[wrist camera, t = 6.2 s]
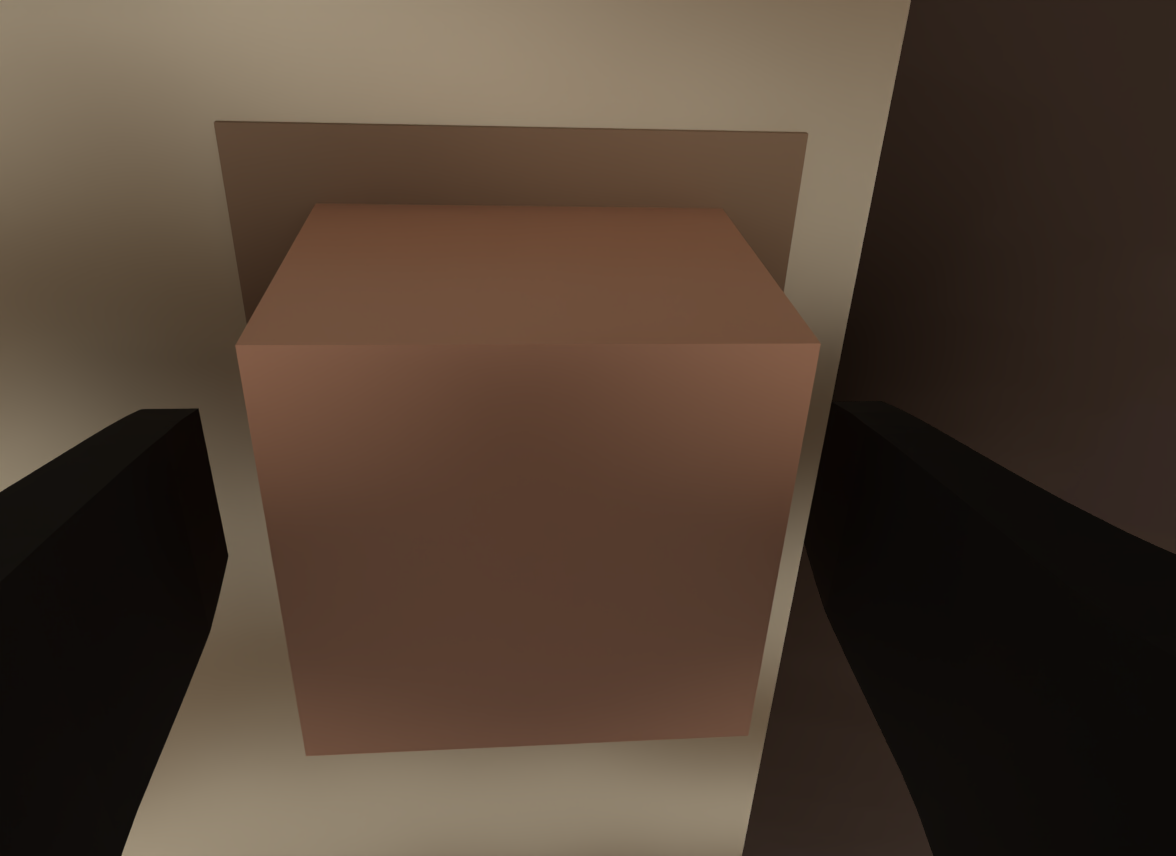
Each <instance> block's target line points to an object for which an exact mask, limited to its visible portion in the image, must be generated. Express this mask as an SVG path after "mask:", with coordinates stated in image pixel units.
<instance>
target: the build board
mask: <svg viewBox="0 0 1176 856" xmlns="http://www.w3.org/2000/svg"><path fill="white" fill-rule="evenodd" d="M910 2H911V0H0V492H1V491H3V490H4V489H6V488H7V487H9V486H11V485H12V484H14V483H16V482H17V481H19V480H20V479H22V478H24V477H25V476H27V475H29V474H30V473H32V472H34V471H35V470H37V469H38V468H40V467H42V466H43V465H45V464H47V463H48V462H50V461H52V460H53V459H55V458H56V457H58V456H60V455H61V454H63V453H65V452H66V451H68V450H69V449H71V448H73V447H74V446H76V445H77V444H79V443H81V442H82V441H84V440H86V439H87V438H89V437H91V436H92V435H94V434H96V433H97V432H99V431H101V430H102V429H104V428H106V427H107V426H109V425H111V424H113V423H114V422H116V421H118V420H120V419H122V418H124V417H125V416H127V415H130V414H132V413H134V412H136V411H138V410H140V409H190V408H199V413H200V418H201V423H202V428H203V433H204V438H205V443H206V448H207V452H208V457H209V462H210V467H211V472H212V477H213V482H214V487H215V492H216V497H217V502H218V506H219V511H220V516H221V521H222V526H223V531H224V536H225V541H226V546H227V551H228V556H229V557H228V561H227V565H226V570H225V574H224V578H223V583H222V587H221V592H220V596H219V600H218V604H217V608H216V612H215V615H214V619H213V623H212V627H211V631H210V634H209V636H208V639H207V642H206V644H205V647H204V649H203V652H202V654H201V657H200V659H199V662H198V664H197V667H196V669H195V672H194V674H193V677H192V679H191V682H190V684H189V687H188V689H187V692H186V694H185V697H184V699H183V702H182V704H181V706H180V709H179V711H178V714H177V716H176V719H175V721H174V723H173V726H172V728H171V731H170V733H169V736H168V738H167V740H166V743H165V745H164V748H163V750H162V753H161V755H160V757H159V760H158V762H157V765H156V767H155V770H154V772H153V774H152V777H151V779H150V782H149V784H148V787H147V789H146V792H145V794H144V796H143V799H142V801H141V804H140V806H139V809H138V811H137V814H136V816H135V819H134V822H133V825H132V828H131V830H130V833H129V836H128V839H127V841H126V844H125V847H124V850H123V853H122V856H742V852H743V847H744V842H745V837H746V832H747V827H748V822H749V816H750V811H751V806H752V801H753V796H754V791H755V786H756V781H757V776H758V771H759V766H760V761H761V756H762V751H763V746H764V741H765V736H766V730H767V725H768V720H769V715H770V710H771V705H772V700H773V695H774V690H775V685H776V680H777V675H778V670H779V665H780V660H781V655H782V650H783V644H784V639H785V634H786V629H787V624H788V619H789V614H790V609H791V604H792V599H793V594H794V589H795V584H796V579H797V574H798V569H799V564H800V558H801V553H802V548H803V543H804V538H805V533H806V528H807V523H808V518H809V513H810V508H811V503H812V498H813V493H814V488H815V483H816V478H817V472H818V467H819V462H820V457H821V452H822V447H823V442H824V437H825V432H826V427H827V422H828V417H829V412H830V407H831V402H832V397H833V392H834V386H835V381H836V376H837V371H838V366H839V361H840V356H841V351H842V346H843V341H844V336H845V331H846V326H847V321H848V316H849V311H850V306H851V300H852V295H853V290H854V285H855V280H856V275H857V270H858V265H859V260H860V255H861V250H862V245H863V240H864V235H865V230H866V225H867V220H868V214H869V209H870V204H871V199H872V194H873V189H874V184H875V179H876V174H877V169H878V164H879V159H880V154H881V149H882V144H883V139H884V134H885V128H886V123H887V118H888V113H889V108H890V103H891V98H892V93H893V88H894V83H895V78H896V73H897V68H898V63H899V58H900V53H901V48H902V42H903V37H904V32H905V27H906V22H907V17H908V12H909V7H910ZM316 203H321V204H405V205H488V206H571V207H655V208H722V209H723V210H724V211H725V213H726V214H727V215H728V217H729V218H730V220H731V221H732V222H733V224H734V225H735V226H736V228H737V229H738V231H739V232H740V233H741V235H742V236H743V237H744V239H745V240H746V242H747V243H748V244H749V246H750V247H751V248H752V250H753V251H754V252H755V254H756V255H757V257H758V258H759V259H760V261H761V262H762V263H763V265H764V266H765V268H766V269H767V270H768V272H769V273H770V274H771V276H772V277H773V279H774V280H775V281H776V283H777V284H778V285H779V287H780V288H781V290H782V291H783V292H784V294H785V295H786V296H787V298H788V299H789V300H790V302H791V303H792V305H793V306H794V307H795V309H796V310H797V311H798V313H799V314H800V316H801V317H802V318H803V320H804V321H805V322H806V324H807V325H808V327H809V328H810V329H811V331H812V332H813V333H814V335H815V336H816V337H817V339H818V340H819V342H820V343H821V346H820V351H819V357H818V362H817V367H816V373H815V378H814V384H813V389H812V394H811V400H810V405H809V410H808V416H807V421H806V427H805V432H804V437H803V443H802V448H801V454H800V459H799V464H798V470H797V475H796V481H795V486H794V491H793V497H792V502H791V508H790V513H789V518H788V524H787V529H786V535H785V540H784V545H783V551H782V556H781V562H780V567H779V572H778V578H777V583H776V589H775V594H774V599H773V605H772V610H771V615H770V621H769V626H768V632H767V637H766V642H765V648H764V653H763V659H762V664H761V669H760V675H759V680H758V686H757V691H756V696H755V702H754V707H753V713H752V718H751V723H750V729H749V734H748V736H732V737H711V738H689V739H667V740H646V741H624V742H603V743H581V744H559V745H538V746H516V747H494V748H473V749H451V750H430V751H408V752H386V753H365V754H343V755H321V756H306V754H305V748H304V742H303V736H302V730H301V725H300V719H299V713H298V707H297V701H296V696H295V690H294V684H293V678H292V672H291V666H290V661H289V655H288V649H287V643H286V637H285V632H284V626H283V620H282V614H281V608H280V603H279V597H278V591H277V585H276V579H275V574H274V568H273V562H272V556H271V550H270V544H269V539H268V533H267V527H266V521H265V515H264V510H263V504H262V498H261V492H260V486H259V481H258V475H257V469H256V463H255V457H254V452H253V446H252V440H251V434H250V428H249V422H248V417H247V411H246V405H245V399H244V393H243V388H242V382H241V376H240V370H239V364H238V359H237V353H236V347H235V345H236V343H237V341H238V339H239V338H240V336H241V334H242V332H243V331H244V329H245V327H246V325H247V324H248V322H249V320H250V318H251V317H252V315H253V313H254V311H255V309H256V308H257V306H258V304H259V302H260V301H261V299H262V297H263V295H264V294H265V292H266V290H267V288H268V287H269V285H270V283H271V281H272V279H273V278H274V276H275V274H276V272H277V271H278V269H279V267H280V265H281V264H282V262H283V260H284V258H285V257H286V255H287V253H288V251H289V249H290V248H291V246H292V244H293V242H294V241H295V239H296V237H297V235H298V234H299V232H300V230H301V228H302V227H303V225H304V223H305V221H306V220H307V218H308V216H309V214H310V212H311V211H312V209H313V207H314V205H315V204H316Z"/></svg>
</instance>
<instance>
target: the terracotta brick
mask: <svg viewBox="0 0 1176 856" xmlns="http://www.w3.org/2000/svg"><path fill="white" fill-rule="evenodd" d="M820 346H821V343H820V342H819V340H818V339H817V337H816V336H815V335H814V333H813V332H812V331H811V329H810V328H809V327H808V325H807V324H806V322H805V321H804V320H803V318H802V317H801V316H800V314H799V313H798V311H797V310H796V309H795V307H794V306H793V305H792V303H791V302H790V300H789V299H788V298H787V296H786V295H785V294H784V292H783V291H782V290H781V288H780V287H779V285H778V284H777V283H776V281H775V280H774V279H773V277H772V276H771V274H770V273H769V272H768V270H767V269H766V268H765V266H764V265H763V263H762V262H761V261H760V259H759V258H758V257H757V255H756V254H755V252H754V251H753V250H752V248H751V247H750V246H749V244H748V243H747V242H746V240H745V239H744V237H743V236H742V235H741V233H740V232H739V231H738V229H737V228H736V226H735V225H734V224H733V222H732V221H731V220H730V218H729V217H728V215H727V214H726V213H725V211H724V210H723V209H722V208H655V207H571V206H488V205H405V204H321V203H316V204H315V205H314V207H313V209H312V211H311V212H310V214H309V216H308V218H307V220H306V221H305V223H304V225H303V227H302V228H301V230H300V232H299V234H298V235H297V237H296V239H295V241H294V242H293V244H292V246H291V248H290V249H289V251H288V253H287V255H286V257H285V258H284V260H283V262H282V264H281V265H280V267H279V269H278V271H277V272H276V274H275V276H274V278H273V279H272V281H271V283H270V285H269V287H268V288H267V290H266V292H265V294H264V295H263V297H262V299H261V301H260V302H259V304H258V306H257V308H256V309H255V311H254V313H253V315H252V317H251V318H250V320H249V322H248V324H247V325H246V327H245V329H244V331H243V332H242V334H241V336H240V338H239V339H238V341H237V343H236V345H235V347H236V353H237V359H238V364H239V370H240V376H241V382H242V388H243V393H244V399H245V405H246V411H247V417H248V422H249V428H250V434H251V440H252V446H253V452H254V457H255V463H256V469H257V475H258V481H259V486H260V492H261V498H262V504H263V510H264V515H265V521H266V527H267V533H268V539H269V544H270V550H271V556H272V562H273V568H274V574H275V579H276V585H277V591H278V597H279V603H280V608H281V614H282V620H283V626H284V632H285V637H286V643H287V649H288V655H289V661H290V666H291V672H292V678H293V684H294V690H295V696H296V701H297V707H298V713H299V719H300V725H301V730H302V736H303V742H304V748H305V754H306V756H321V755H343V754H365V753H386V752H408V751H430V750H451V749H473V748H494V747H516V746H538V745H559V744H581V743H603V742H624V741H646V740H667V739H689V738H711V737H732V736H748V734H749V729H750V723H751V718H752V713H753V707H754V702H755V696H756V691H757V686H758V680H759V675H760V669H761V664H762V659H763V653H764V648H765V642H766V637H767V632H768V626H769V621H770V615H771V610H772V605H773V599H774V594H775V589H776V583H777V578H778V572H779V567H780V562H781V556H782V551H783V545H784V540H785V535H786V529H787V524H788V518H789V513H790V508H791V502H792V497H793V491H794V486H795V481H796V475H797V470H798V464H799V459H800V454H801V448H802V443H803V437H804V432H805V427H806V421H807V416H808V410H809V405H810V400H811V394H812V389H813V384H814V378H815V373H816V367H817V362H818V357H819V351H820Z"/></svg>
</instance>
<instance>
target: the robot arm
mask: <svg viewBox="0 0 1176 856" xmlns="http://www.w3.org/2000/svg"><path fill="white" fill-rule="evenodd" d="M804 543H805V547H806V550H807V554H808V557H809V561H810V564H811V568H812V571H813V575H814V578H815V581H816V585H817V588H818V591H819V594H820V597H821V600H822V603H823V606H824V609H825V612H826V614H827V617H828V619H829V621H830V623H831V626H832V628H833V630H834V632H835V634H836V636H837V639H838V641H839V643H840V645H841V647H842V649H843V651H844V654H845V656H846V658H847V660H848V662H849V664H850V666H851V669H852V671H853V673H854V675H855V677H856V679H857V681H858V683H859V685H860V687H861V689H862V691H863V694H864V696H865V698H866V700H867V702H868V704H869V706H870V708H871V710H872V712H873V714H874V716H875V719H876V721H877V723H878V725H879V727H880V729H881V731H882V733H883V735H884V737H885V739H886V742H887V744H888V746H889V748H890V750H891V752H892V754H893V756H894V758H895V760H896V762H897V765H898V767H899V769H900V771H901V773H902V775H903V778H904V780H905V782H906V785H907V787H908V789H909V792H910V794H911V797H912V799H913V801H914V804H915V806H916V808H917V811H918V813H919V816H920V819H921V822H922V825H923V828H924V830H925V833H926V836H927V839H928V842H929V845H930V847H931V850H932V853H933V856H1176V554H1174V553H1171V552H1169V551H1167V550H1164V549H1162V548H1160V547H1157V546H1155V545H1153V544H1151V543H1149V542H1147V541H1144V540H1142V539H1140V538H1138V537H1136V536H1134V535H1132V534H1129V533H1127V532H1125V531H1123V530H1121V529H1119V528H1117V527H1115V526H1113V525H1111V524H1109V523H1107V522H1105V521H1103V520H1101V519H1099V518H1097V517H1095V516H1093V515H1091V514H1090V513H1088V512H1086V511H1084V510H1082V509H1080V508H1078V507H1076V506H1074V505H1072V504H1070V503H1068V502H1066V501H1064V500H1062V499H1060V498H1058V497H1057V496H1055V495H1053V494H1051V493H1049V492H1047V491H1045V490H1044V489H1042V488H1040V487H1038V486H1036V485H1034V484H1033V483H1031V482H1029V481H1027V480H1025V479H1024V478H1022V477H1020V476H1018V475H1016V474H1015V473H1013V472H1011V471H1009V470H1008V469H1006V468H1004V467H1002V466H1001V465H999V464H997V463H995V462H994V461H992V460H990V459H988V458H987V457H985V456H983V455H981V454H980V453H978V452H976V451H974V450H973V449H971V448H969V447H967V446H966V445H964V444H962V443H960V442H959V441H957V440H955V439H954V438H952V437H950V436H948V435H947V434H945V433H943V432H941V431H940V430H938V429H936V428H934V427H932V426H931V425H929V424H927V423H925V422H923V421H922V420H920V419H918V418H916V417H914V416H912V415H910V414H908V413H906V412H905V411H902V410H900V409H898V408H896V407H894V406H892V405H889V404H887V403H885V402H882V401H861V402H831V407H830V412H829V417H828V422H827V427H826V432H825V437H824V442H823V447H822V452H821V457H820V462H819V468H818V473H817V478H816V483H815V488H814V493H813V498H812V503H811V508H810V513H809V518H808V523H807V528H806V533H805V538H804ZM228 557H229V556H228V551H227V546H226V541H225V536H224V531H223V526H222V521H221V516H220V511H219V506H218V502H217V497H216V492H215V487H214V482H213V477H212V472H211V467H210V462H209V457H208V452H207V448H206V443H205V438H204V433H203V428H202V423H201V418H200V413H199V408H190V409H140V410H138V411H136V412H134V413H132V414H130V415H127V416H125V417H124V418H122V419H120V420H118V421H116V422H114V423H113V424H111V425H109V426H107V427H106V428H104V429H102V430H101V431H99V432H97V433H96V434H94V435H92V436H91V437H89V438H87V439H86V440H84V441H82V442H81V443H79V444H77V445H76V446H74V447H73V448H71V449H69V450H68V451H66V452H65V453H63V454H61V455H60V456H58V457H56V458H55V459H53V460H52V461H50V462H48V463H47V464H45V465H43V466H42V467H40V468H38V469H37V470H35V471H34V472H32V473H30V474H29V475H27V476H25V477H24V478H22V479H20V480H19V481H17V482H16V483H14V484H12V485H11V486H9V487H7V488H6V489H4V490H3V491H1V492H0V856H122V853H123V850H124V847H125V844H126V841H127V839H128V836H129V833H130V830H131V828H132V825H133V822H134V819H135V816H136V814H137V811H138V809H139V806H140V804H141V801H142V799H143V796H144V794H145V792H146V789H147V787H148V784H149V782H150V779H151V777H152V774H153V772H154V770H155V767H156V765H157V762H158V760H159V757H160V755H161V753H162V750H163V748H164V745H165V743H166V740H167V738H168V736H169V733H170V731H171V728H172V726H173V723H174V721H175V719H176V716H177V714H178V711H179V709H180V706H181V704H182V702H183V699H184V697H185V694H186V692H187V689H188V687H189V684H190V682H191V679H192V677H193V674H194V672H195V669H196V667H197V664H198V662H199V659H200V657H201V654H202V652H203V649H204V647H205V644H206V642H207V639H208V636H209V634H210V631H211V627H212V623H213V619H214V615H215V612H216V608H217V604H218V600H219V596H220V592H221V587H222V583H223V578H224V574H225V570H226V565H227V561H228Z"/></svg>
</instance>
